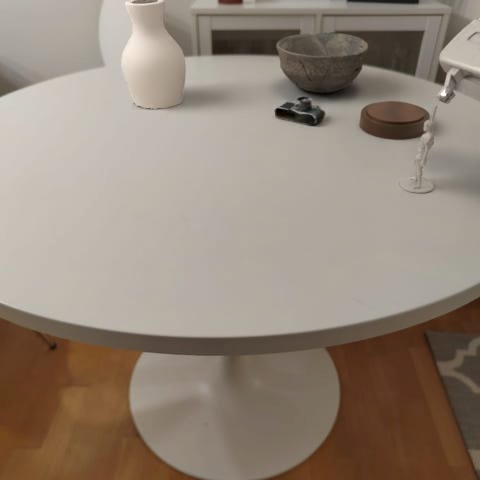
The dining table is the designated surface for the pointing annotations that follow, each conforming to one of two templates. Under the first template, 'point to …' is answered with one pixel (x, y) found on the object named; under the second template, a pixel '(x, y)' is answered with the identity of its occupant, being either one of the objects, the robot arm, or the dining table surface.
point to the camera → (300, 111)
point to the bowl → (321, 60)
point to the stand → (393, 120)
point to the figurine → (421, 161)
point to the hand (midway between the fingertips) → (465, 109)
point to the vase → (152, 58)
